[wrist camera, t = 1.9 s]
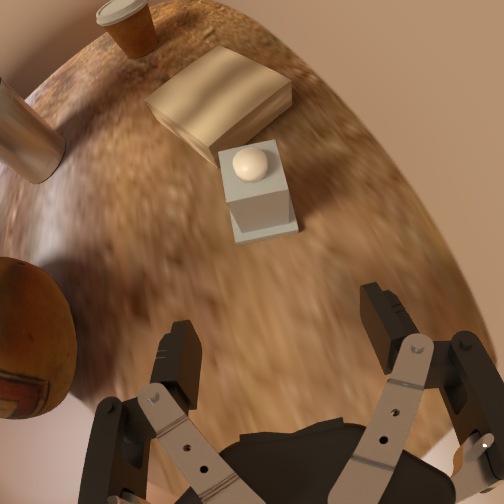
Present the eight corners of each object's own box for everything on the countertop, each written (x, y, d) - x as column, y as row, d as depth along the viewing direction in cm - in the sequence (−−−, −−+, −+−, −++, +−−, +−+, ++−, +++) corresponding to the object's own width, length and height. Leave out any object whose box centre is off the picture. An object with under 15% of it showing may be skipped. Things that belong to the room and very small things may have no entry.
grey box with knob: (237, 245, 31) (213, 208, 21) (228, 191, 33) (204, 138, 23) (298, 233, 31) (301, 189, 21) (284, 179, 32) (281, 121, 23)
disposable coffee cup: (152, 62, 41) (126, 11, 30) (111, 67, 43) (83, 23, 31) (174, 32, 43) (155, -16, 32) (134, 37, 45) (112, -5, 33)
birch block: (158, 121, 37) (144, 99, 33) (225, 69, 39) (218, 45, 34) (218, 170, 34) (208, 147, 29) (292, 106, 35) (291, 80, 30)
